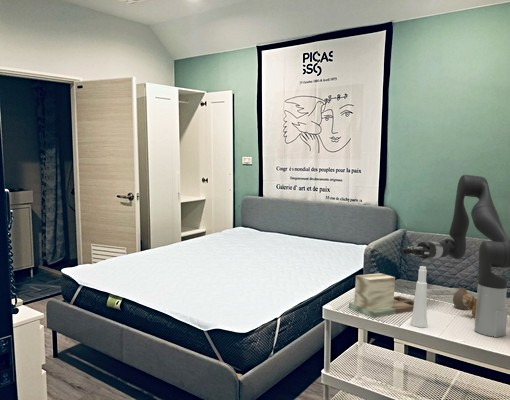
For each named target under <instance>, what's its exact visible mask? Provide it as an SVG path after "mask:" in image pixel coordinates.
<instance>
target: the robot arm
mask: <svg viewBox="0 0 510 400" xmlns="http://www.w3.org/2000/svg"><path fill="white" fill-rule="evenodd" d="M465 197H470V198H477V199H478V201H477V202H476V203H475V204H474V206H473V207H472V209H471V212H470V216H471V219H472V222H473V225H474V227H475V229H476V230H477V231H479V233H480V234H481V235H484V237H486V238H488V239H489V240H490V241H489V240H484V241H482V242H481V243H480V245H479V249H478V273H477V277H478V278H477V279H478V280H477V292H476V299H477V302H476V315H475V317H474V331H475V332H476V333H478V334H480V335H484V336H488V337H493V336H494V338H499V337H503V336H504V337H505V336H506V334H507V325H508V324H507V323H508V322H507V321H508V314H509V313H508V312H509V311H508V308H506V305H507V304H506V302H507V301H506V300H507V292H508V291H507V290H508V281H507V279H506V278H504V277H501V276H499V275H497V274H496V273H494V272H493V271H492V268H501V269H502V268H503V269H507V268H508V269H510V238H509V236H508V235H507V234H506V232H505V229H504V227H503V225H502V222H501V219H500V216H499V213H498V211H497V209H496V206H495V204H494V202H493V199H492V195H491V191H490V187H489V182H488V180H487V179H486V177H483V176H479V175H473V174H472V175H470V174H463V175H461V176H460V178H459V179H458V182H457V187H456V196H455V201H454V209H453V217H452V221H451V224H450V227H449V233H448V234H449V236H450V237H451V238H445V239H442V240H441V241H421V242H419V243H418V244H417V245H413V246H409V245H405V246H404V248H401V252H400V253H401V254H402V255H411V256H418V258H419V259H421V260H429V259H431V260H432V259H437V258H446V257H447V256H450V257H452V258H453V259H454V260H461V259H463V258H464V257H465V254H466V251H467V238H466V236H467V232H468V231H469V226H470V219H469V215H468V213H467V210H466V207H465Z"/></svg>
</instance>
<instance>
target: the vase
mask: <svg viewBox="0 0 510 400" xmlns="http://www.w3.org/2000/svg"><path fill="white" fill-rule="evenodd" d="M466 294H469V292H468V291H467V289H466V288H465V287H459V288H458V290H456V291H455V292H454V294H453V297H452V303H453V305H454V307H455V308H456V309H458V310H467V309H468V308H467V307H466V306H465V305H464V304H463V295H466Z"/></svg>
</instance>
